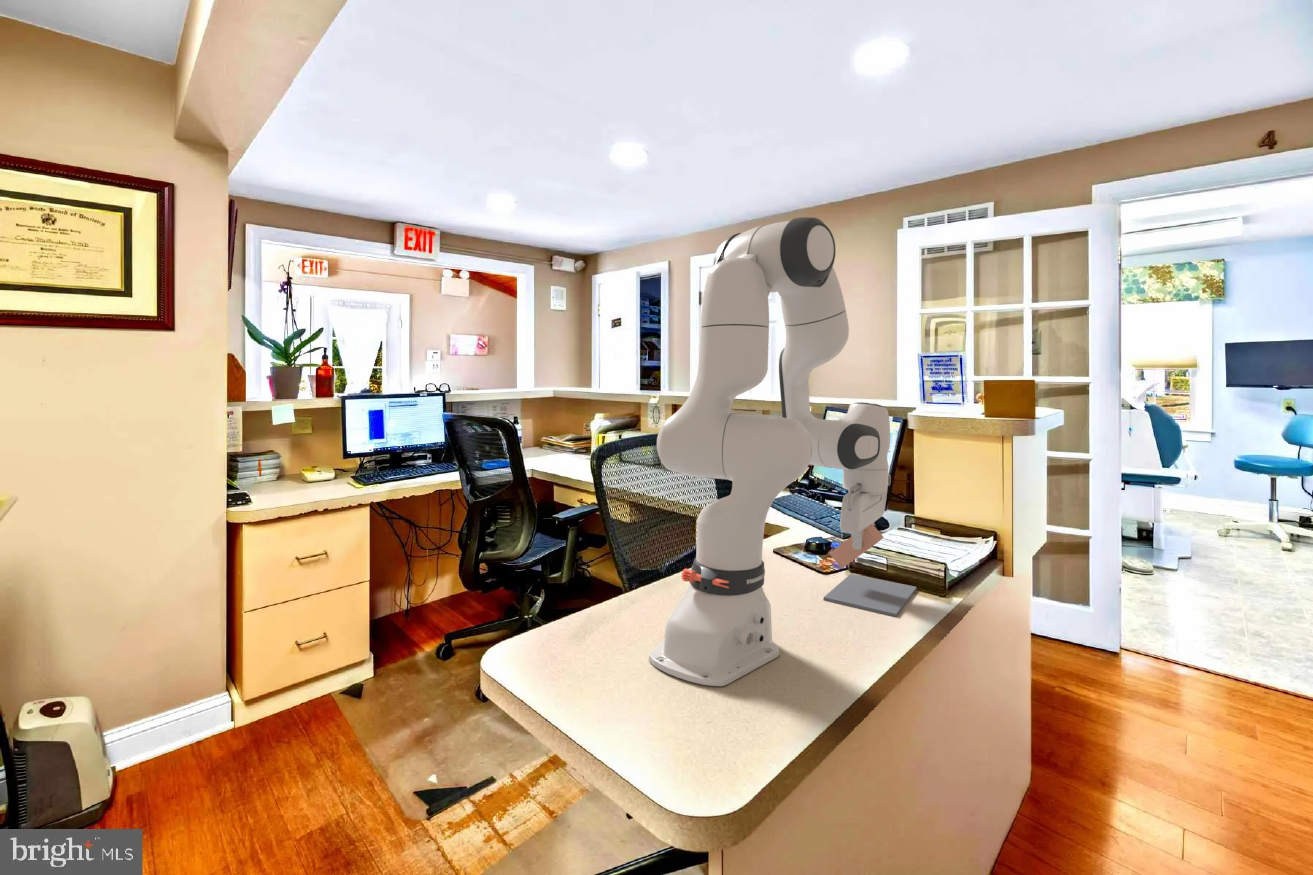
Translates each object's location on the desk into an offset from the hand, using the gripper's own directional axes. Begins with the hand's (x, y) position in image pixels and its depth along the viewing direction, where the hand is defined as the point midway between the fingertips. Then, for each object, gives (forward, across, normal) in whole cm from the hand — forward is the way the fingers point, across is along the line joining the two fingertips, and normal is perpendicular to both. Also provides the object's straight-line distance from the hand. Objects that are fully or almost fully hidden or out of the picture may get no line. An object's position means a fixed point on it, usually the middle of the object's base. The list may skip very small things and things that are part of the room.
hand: (861, 545), depth 120 cm
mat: (+10, 0, -2) cm, 10 cm away
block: (+4, 0, +5) cm, 6 cm away
